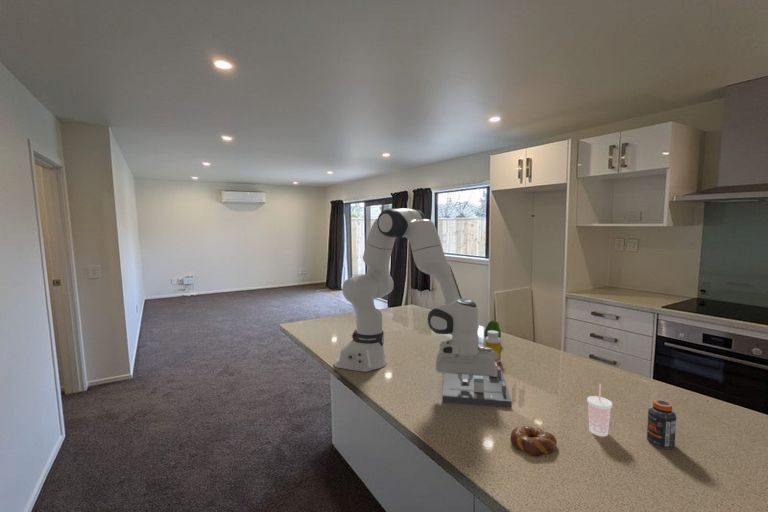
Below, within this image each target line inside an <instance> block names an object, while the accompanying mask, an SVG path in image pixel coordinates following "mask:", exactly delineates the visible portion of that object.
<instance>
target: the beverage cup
mask: <svg viewBox="0 0 768 512" xmlns="http://www.w3.org/2000/svg"><path fill="white" fill-rule="evenodd" d="M601 393H602V383H598V396H597V395H591V396H587V398H586V399H587V400H586V403H587V406H588V407H587V408H588V411H587V412H588V431H589V432H590V433H591V434H593V435H596V436H598V437H607V436H608V435H609V427H610V419H611V412H612V411H611V410H612V408H613V402H612V401H611V400H609V399H608V398H605V397H603V396H602V394H601Z"/></svg>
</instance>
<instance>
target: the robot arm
mask: <svg viewBox="0 0 768 512" xmlns="http://www.w3.org/2000/svg"><path fill="white" fill-rule="evenodd" d="M397 238H406V239H407V240H408V241H409V243H410V248H411V252H412V258H413V261H414V263H415V266H416V268H417V269H418V270H419V271H420V272H422V273H424V274H426V275H428V276H431V277H432V278H434V279H436V280H437V282H438V284H439V286H440V289H441V291H442V292H441V293H442V295H443V298H444V302H445V303H444V305H440V306H436V307H434V308H432V309H431V310H430V311H429V312H428V314H427V325H428V326H429V328H430V330H431V331H432V332H433V333H435V334H437V335H451V339H448V340H443V341H441V342H440V343H439V350H438V352H437V355H436V361H435V371H436V372H437V373H441V374H442V373H455V374H458V378H459V379H460V381H461V386H469V383H470V381H471V380H472V378H473V375H485V376H494V375H495V374H496V366H495V360H496V359H497V353H496V351H495V350H493V349H492V348H485V347H479V341H480V340H479V339H480V338H479V335H478V333H479V332H478V331H479V327H480V320H479V319H480V317H479V308H478V305H477V304H476V302H475V301H472V300H471V299H467V298H462V295H461V292H460V289H459V286H458V284H457V280H456V277H455V274H454V272H453V269H452V267H451V265H450V264H449V262H448V260H447V258H446V255H445V252H444V249H443V244H442V242H441V238H440V235H439V232H438V230H437V228H436V225H435V224H434V222H433V221H432V220H431V219H429V218H428V219H427V218H426V215H425V214H424V212H423V211H421V210H419V209H416V208H407V207H401V208H400V207H399V208H391V207H390V208H387V209H385V210H382V211H381V212H379V215H378V218H377V219H375V220H374V221H373V223H372V226H371V228H370V230H369V233H368V236H367V240H366V244H365V247H364V251H363V256H362V261H363V262H364V264H365V265H366V266H367V272H366V273H365V274H359V275H353V276H352V277H350V278H347V279H345V280H344V282H343V284H342V290H341V291H342V295H343V297H344V298H345V300H347V302H349V303H350V304H351V305H352V307H353V310H354V313H355V318H356V319H355V320H356V328H355V329H354V330H353V332H352V334H351V338H352V339H351V340H350V341H348V343H346V344H345V345H344V346H342V349H340V353H339V356H338V357H337V358H336V359H335V360H334V364H333V365H334V367H335V368H339V369H344V370H350V371H357V372H364V373H366V372H367V373H368V372H370V371H373V370H377V369H382V368H383V367H385V366H386V365H387V363H388V362H387V358H386V355H385V350H384V349H385V348H384V343H385V335H384V330H383V313H382V312H381V311H380V310H379V309H378V308H376V306H375V303H374V302H375V301H374V300H375V299H380V298H384V297H385V296H388V294H390V293H392V292H393V290H394V280H393V277H392V276H391V275H390V272H389V271H390V269H389V268H390V267H389V266H390V261H391V256H392V254H393V253H392V252H393V249H394V245H395V241H396V239H397ZM492 350H493V351H492ZM462 374H469V378H468V379H467V380H465V379H462Z"/></svg>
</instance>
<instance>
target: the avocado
mask: <svg viewBox="0 0 768 512" xmlns="http://www.w3.org/2000/svg"><path fill="white" fill-rule="evenodd" d="M490 330H494V331H498V332H499V335H498V337H499V338H500V339H501V337H502V332H501V329H500V325H499V323H498V321H497V320H490V321H489V322H487V325H486V327H485V329H484V331H483V332H484V333H483V335H484V339H485V338H486V337H487V336H488V334H487V331H490Z"/></svg>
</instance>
